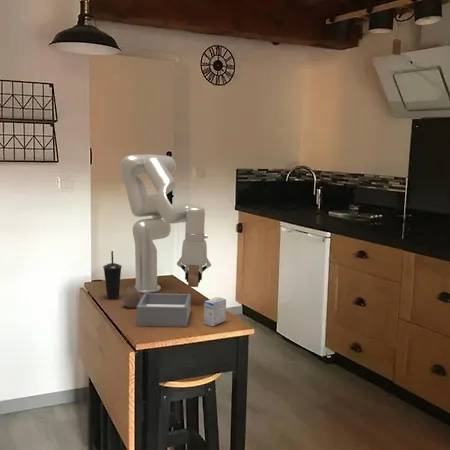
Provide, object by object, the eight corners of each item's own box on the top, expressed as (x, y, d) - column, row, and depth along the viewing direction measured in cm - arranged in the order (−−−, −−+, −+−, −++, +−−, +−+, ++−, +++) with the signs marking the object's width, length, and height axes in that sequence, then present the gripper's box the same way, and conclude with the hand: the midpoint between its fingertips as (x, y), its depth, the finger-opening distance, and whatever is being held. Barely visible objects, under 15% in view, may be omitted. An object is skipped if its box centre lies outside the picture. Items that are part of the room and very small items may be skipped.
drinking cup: (106, 295, 242) (105, 249, 239) (123, 295, 242) (123, 249, 239) (101, 300, 234) (100, 253, 231) (120, 300, 234) (119, 253, 231)
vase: (141, 304, 230) (141, 283, 228) (139, 309, 223) (139, 287, 221) (124, 304, 229) (123, 283, 228) (121, 309, 223) (121, 287, 221)
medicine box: (216, 318, 212) (216, 296, 211) (226, 321, 210) (226, 298, 208) (203, 324, 206) (203, 301, 205) (213, 326, 203) (213, 303, 202)
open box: (144, 310, 221) (144, 293, 220) (190, 311, 221) (190, 294, 220) (136, 325, 203) (136, 306, 202) (186, 326, 203) (186, 307, 202)
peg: (188, 284, 231) (189, 260, 229) (198, 284, 231) (199, 260, 229) (188, 286, 227) (188, 262, 225) (197, 287, 227) (198, 263, 225)
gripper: (215, 236, 229) (214, 280, 232) (174, 234, 229) (173, 278, 233) (215, 240, 222) (213, 285, 225) (172, 238, 222) (171, 283, 225)
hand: (193, 281), depth 229 cm, fingers closed on peg, 4 cm apart
